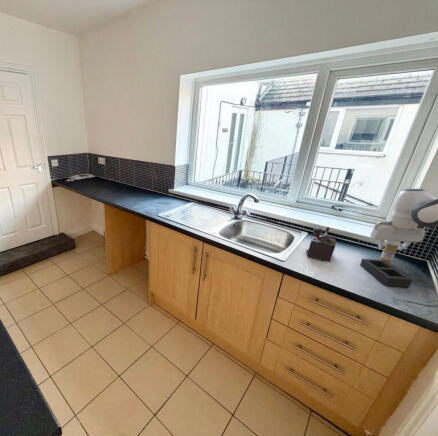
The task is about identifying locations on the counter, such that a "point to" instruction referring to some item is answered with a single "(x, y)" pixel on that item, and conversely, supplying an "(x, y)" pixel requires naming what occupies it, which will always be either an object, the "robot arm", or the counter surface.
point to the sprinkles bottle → (389, 251)
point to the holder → (385, 273)
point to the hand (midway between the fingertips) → (391, 248)
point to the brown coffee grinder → (321, 245)
